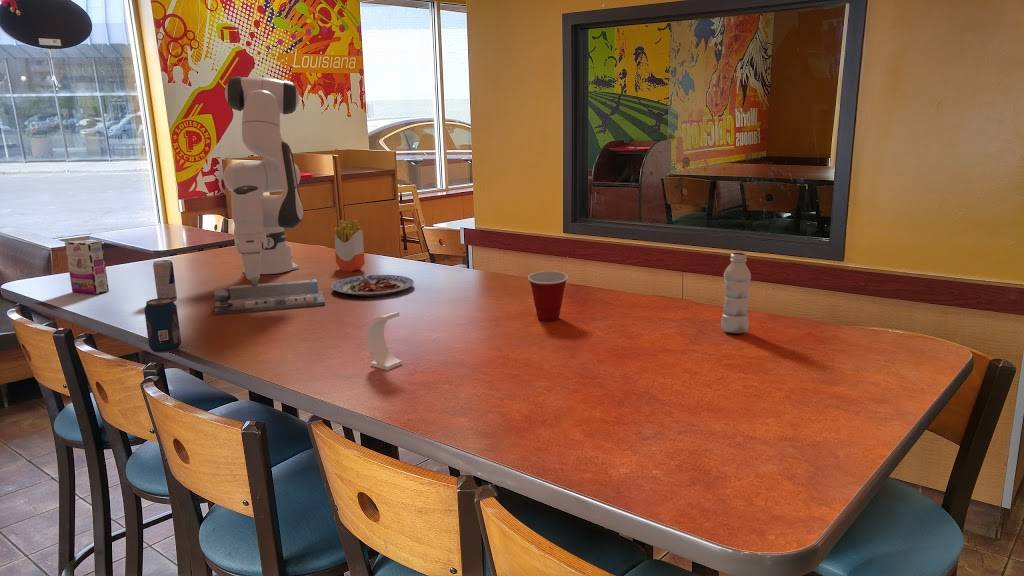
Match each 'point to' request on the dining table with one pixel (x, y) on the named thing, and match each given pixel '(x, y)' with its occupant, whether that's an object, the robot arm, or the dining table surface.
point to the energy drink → (164, 279)
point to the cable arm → (265, 290)
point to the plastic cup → (548, 293)
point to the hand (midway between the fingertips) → (255, 288)
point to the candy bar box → (87, 266)
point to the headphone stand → (380, 343)
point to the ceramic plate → (372, 285)
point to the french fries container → (349, 246)
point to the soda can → (162, 325)
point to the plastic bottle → (736, 295)
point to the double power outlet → (269, 303)
